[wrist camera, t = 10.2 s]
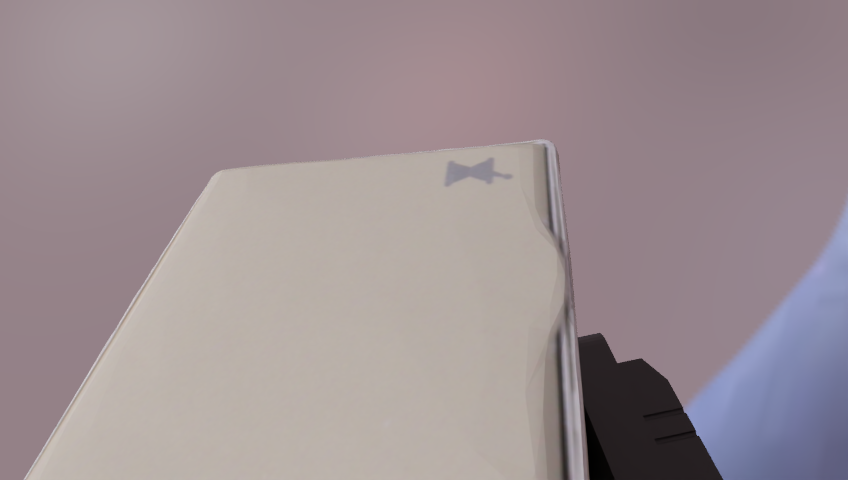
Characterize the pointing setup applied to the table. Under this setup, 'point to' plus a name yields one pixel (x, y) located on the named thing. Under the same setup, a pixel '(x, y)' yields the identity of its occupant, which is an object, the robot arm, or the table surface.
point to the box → (347, 331)
